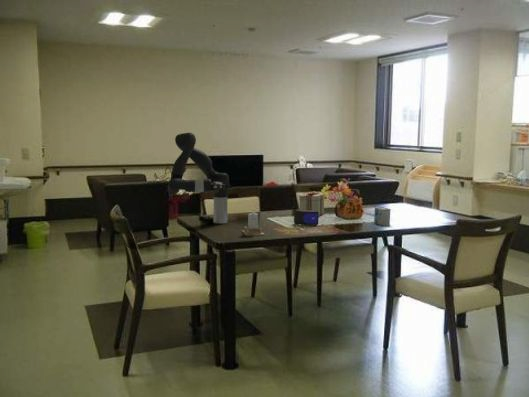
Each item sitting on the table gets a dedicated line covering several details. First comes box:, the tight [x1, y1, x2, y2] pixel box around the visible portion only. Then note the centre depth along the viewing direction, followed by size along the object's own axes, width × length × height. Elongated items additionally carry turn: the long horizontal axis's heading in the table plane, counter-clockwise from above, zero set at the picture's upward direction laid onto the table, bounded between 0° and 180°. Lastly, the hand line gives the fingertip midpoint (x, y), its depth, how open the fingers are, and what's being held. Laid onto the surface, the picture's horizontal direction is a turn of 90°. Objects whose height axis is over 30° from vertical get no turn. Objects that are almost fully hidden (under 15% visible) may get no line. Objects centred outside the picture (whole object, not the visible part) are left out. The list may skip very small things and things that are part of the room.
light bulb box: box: [373, 206, 391, 226], centre depth 358 cm, size 11×7×11 cm, turn 14°
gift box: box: [298, 190, 326, 217], centre depth 392 cm, size 17×18×17 cm
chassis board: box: [241, 225, 265, 237], centre depth 318 cm, size 13×11×4 cm
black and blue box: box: [293, 209, 320, 226], centre depth 350 cm, size 16×5×9 cm, turn 81°
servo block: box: [247, 212, 259, 229], centre depth 318 cm, size 5×5×12 cm
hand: (229, 185), depth 314 cm, fingers open, 8 cm apart
